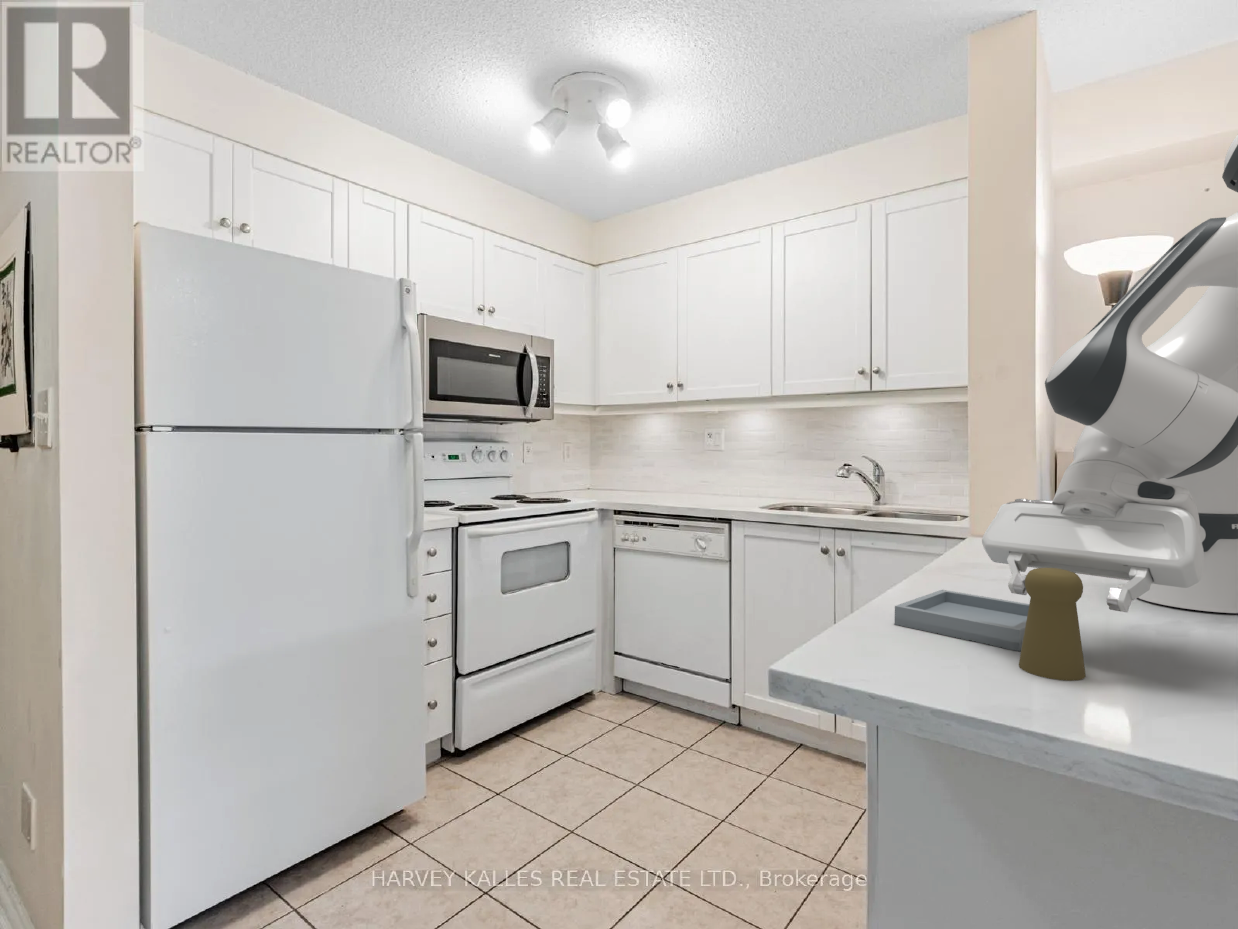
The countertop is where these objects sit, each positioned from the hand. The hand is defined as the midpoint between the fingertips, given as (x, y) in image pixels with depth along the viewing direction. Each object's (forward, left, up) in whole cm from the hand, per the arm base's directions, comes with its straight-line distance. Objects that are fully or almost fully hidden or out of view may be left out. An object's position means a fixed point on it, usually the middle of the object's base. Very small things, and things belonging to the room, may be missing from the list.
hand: (1063, 599), depth 70 cm
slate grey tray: (-11, -13, -8) cm, 18 cm away
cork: (+1, -1, -8) cm, 8 cm away
